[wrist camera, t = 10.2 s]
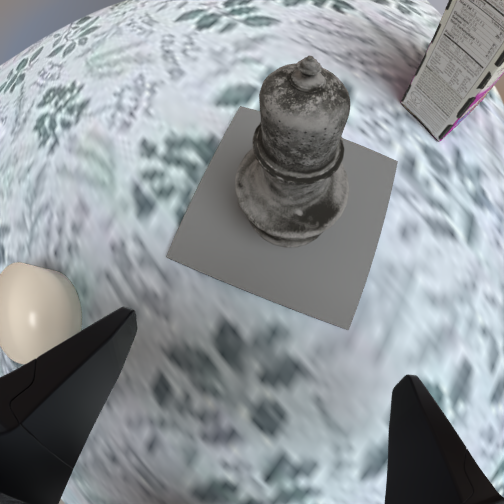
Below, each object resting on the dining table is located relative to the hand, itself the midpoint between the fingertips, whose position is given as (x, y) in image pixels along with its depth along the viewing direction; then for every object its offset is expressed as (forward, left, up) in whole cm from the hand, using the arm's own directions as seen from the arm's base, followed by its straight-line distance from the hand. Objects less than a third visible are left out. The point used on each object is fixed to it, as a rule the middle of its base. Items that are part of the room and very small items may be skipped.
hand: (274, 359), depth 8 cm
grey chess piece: (+8, +2, -9) cm, 12 cm away
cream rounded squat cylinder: (-6, +16, -9) cm, 19 cm away
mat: (+8, +2, -9) cm, 12 cm away
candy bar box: (+24, -8, -9) cm, 27 cm away
